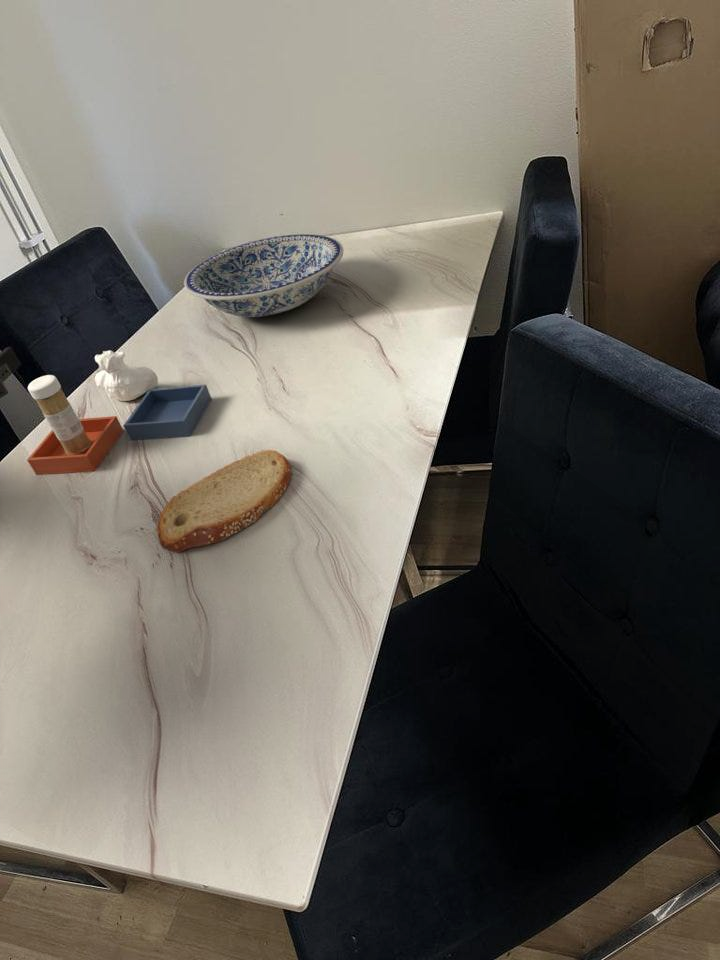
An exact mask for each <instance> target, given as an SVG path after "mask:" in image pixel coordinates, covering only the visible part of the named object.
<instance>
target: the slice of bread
mask: <svg viewBox="0 0 720 960" xmlns="http://www.w3.org/2000/svg"><path fill="white" fill-rule="evenodd" d="M292 473H293V472H292V466H291V464H290V462H289V460H288V459H287V458H286V457H285V455H284V454H281V453H280V452H278V451H276V450H271V449H265V450H264V449H263V450H260V451H257V452H255V453H252V454H249V455H247V456H245V457H244V456H243V457H242V458H240V459H237V460H236V461H233V462H232V463H230V464H227V465H225V466H223V467H222V468H220V469H217V470H216V471H214V472H211V473H210V474H209V475H208V476H205V477H203V478H202V479H199V480H198V481H195V482H194V483H192V484H191V485H190V486H188V487H187V488H185V489H183V490H181V491H179V492H178V493H177V494H176V495H174V496H172V497H171V498H170V500H168V502H167V503H166V504H165V506H164V507H163V508H162V509H163V510H162V511H161V513H160V515H159V519H158V522H157V528H156V530H157V537H158V540H159V541H158V542H159V544H160V545H161V547H162V548H163V549H167V550H169V551H171V552H176V553H182V552H184V551H185V550H188V549H191V548H195V547H202V546H209V545H212V544H215V543H219V542H223V541H225V540H226V539H228V538H230V537H231V536H232V535H235V534H238V533H239V532H241V531H242V530H244V529H245V528H248V527H249V526H250V525H252V524H253V523H256V522H257V521H258V520H259V518H260V517H261V516H262V515H263V514H264V513H265V512H267V511H268V510H270V509H271V508H273V506H275V505H276V504H277V502H278V501H279V500H280V499H281V498H282V496H283V494H284V493H285V491H286V490H287V488H288V487H289V485H290V481H291V479H292Z"/></svg>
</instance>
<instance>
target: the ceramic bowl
mask: <svg viewBox="0 0 720 960" xmlns="http://www.w3.org/2000/svg"><path fill="white" fill-rule="evenodd" d="M344 250H345V249H344V247H343V244H342V243H341V242H340V241H339V240H337V239H335V238H333V237H330V236H326V235H322V234H312V233H311V234H310V233H309V234H308V233H307V234H306V233H297V234H287V235H285V234H284V235H279V236H272V237H266V238H261V239H257V240H253V241H249V242H245V243H242V244H239V245H236V246H233V247H231V248H230V247H229V248H228V249H225V250H222V251H221V252H218V253H216V254H214V255H212V256H210V257H208V258H206V259H205V260H203V261H202V262H200V263H198V264H197V265H196V266H194V267H193V268H192V269H190V271H189V272H188V273H187V274H186V276H185V278H184V282H183V283H184V287H185V290H186V291H187V292H188V294H190V295H192V296H194V297H196V298H200V299H203V300H204V301H205V302H207V303H208V304H209V305H211V306H212V307H213V308H215V309H217V310H218V311H221V312H224V313H225V314H229V315H233V316H236V317H243V318H245V317H246V318H256V317H267V316H273V315H277V314H281V313H283V312H287V311H291V310H292V309H295V308H297V307H300V306H301V305H304V304H305V303H307V302H309V301H310V300H311V299H312V298H313V297H315V296H316V295H317V294H318V293H319V292H320V291H321V290H322V289H323V288H324V286H325V285H326V283H327V282H328V280H329V278H330V277H331V274H332V273H333V269H334V267H335V266H337V265H338V264H339V262H340V261H341V260H342V258H343V256H344Z"/></svg>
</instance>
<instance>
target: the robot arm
mask: <svg viewBox="0 0 720 960" xmlns="http://www.w3.org/2000/svg"><path fill="white" fill-rule="evenodd" d="M21 366H22V363H21V361H20V360H19V358H18V356H17V354H16V353H15V351H14V349H13V347H12V346H7V347H5V348H4V349H3V350H2V351H0V399H1V398H3V397H5V396H7V395H8V394H9V391H8V388H7V387H6V385H5V383H4V382H6V380H7V379H8V378H9V377H10V376H11V375H12V374H13V373H14V372H15V371H16V370H17V369H19V368H20V367H21Z"/></svg>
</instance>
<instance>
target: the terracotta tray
mask: <svg viewBox="0 0 720 960" xmlns="http://www.w3.org/2000/svg"><path fill="white" fill-rule="evenodd" d="M78 419H79V421H80V422H81V424H82V426H83V429H84V431H85V433H86V434H87V436H88V438H89V439H90V440H91V442H92V445H91V447H90V448H89V449H88V450H87V451H86V452H84V453H82V454H80V455H67V454H66V452H65V449H64V448H63V446H62V444H61V443H60V441H59V439H58V438H57V437H56V435H55V433H54V432H53V430H52V429H51V431H49V433H48V434H47V435H46V436H45V438H44V439H43V440H42V441H41V442H40V443H39V445H38V446H37V447H36V448H35V450H34V451H33V452H32V453H31V455H29V457H28V458H27V459H26V461H27V463H28V464H29V466H30V468H31V469H32V470H33V472H34V474H35V475H49V474H66V473H85V472H96V471H97V469H98V468H99V466H100V465H101V463H102V462H103V460H104V459H105V457H106V456H107V455H108V453H109V452H110V451H111V449H112V448H113V446H115V443H116V442H117V441H118V440H119V438H120V436H121V435H122V433H123V432H124V430H125V429H124V427H123V426H122V424H121V423H120V420H119V418H118V417H117V415H113V416H101V417H88V418H78Z"/></svg>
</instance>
